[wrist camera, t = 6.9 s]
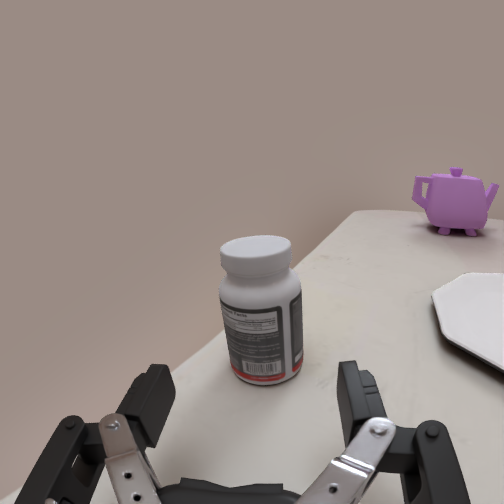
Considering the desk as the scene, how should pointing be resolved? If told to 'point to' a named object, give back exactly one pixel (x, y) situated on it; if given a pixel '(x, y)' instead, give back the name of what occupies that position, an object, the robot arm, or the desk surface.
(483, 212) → the teapot
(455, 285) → the plate
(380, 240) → the desk surface
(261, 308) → the pill bottle
